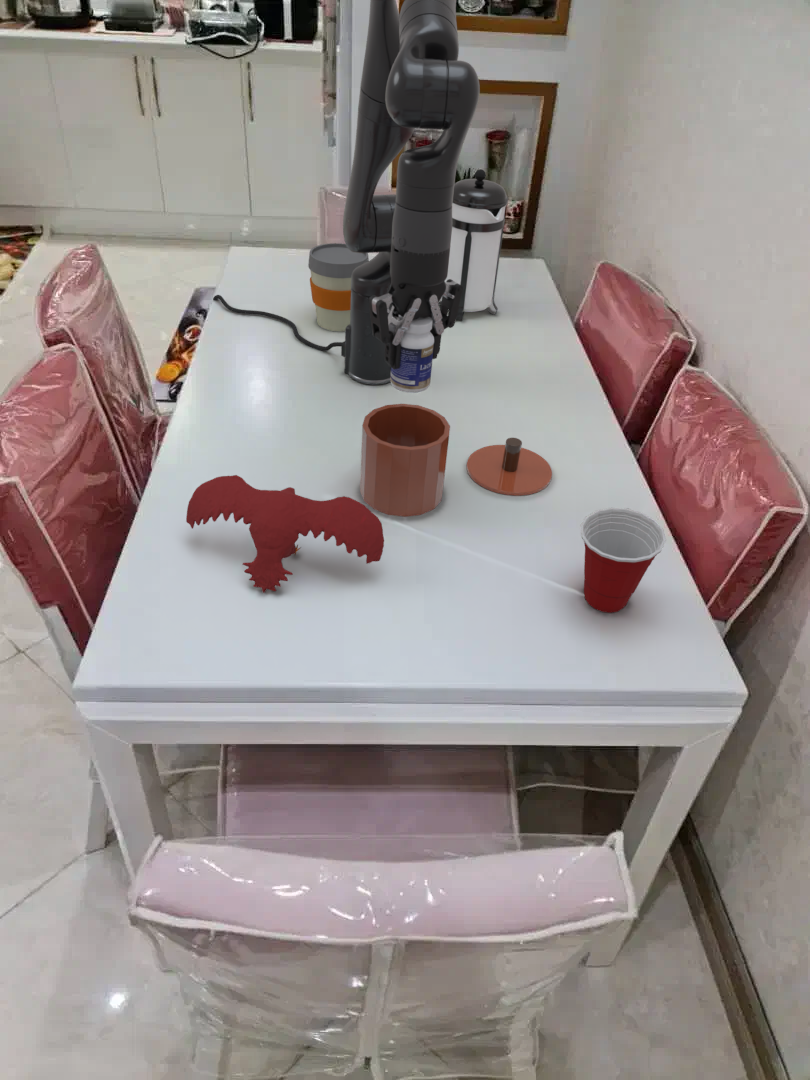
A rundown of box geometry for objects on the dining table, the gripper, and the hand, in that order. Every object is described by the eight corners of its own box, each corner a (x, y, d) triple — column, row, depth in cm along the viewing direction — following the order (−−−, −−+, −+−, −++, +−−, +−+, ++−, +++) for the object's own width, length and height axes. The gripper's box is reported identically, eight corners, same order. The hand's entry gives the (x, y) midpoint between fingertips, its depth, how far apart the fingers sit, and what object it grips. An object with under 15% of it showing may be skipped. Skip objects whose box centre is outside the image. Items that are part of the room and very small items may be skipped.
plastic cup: (555, 572, 115) (572, 505, 107) (629, 572, 116) (650, 505, 108) (574, 627, 106) (593, 558, 99) (653, 626, 108) (678, 557, 100)
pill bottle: (426, 396, 113) (432, 329, 106) (386, 390, 113) (389, 323, 107) (433, 378, 117) (439, 312, 111) (394, 372, 118) (398, 306, 111)
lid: (452, 480, 131) (456, 447, 127) (487, 442, 141) (491, 410, 137) (532, 508, 126) (539, 476, 122) (562, 467, 136) (569, 435, 132)
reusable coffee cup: (378, 321, 177) (381, 252, 167) (344, 340, 168) (346, 269, 159) (331, 305, 182) (332, 238, 172) (296, 323, 173) (295, 254, 164)
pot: (345, 501, 125) (346, 431, 117) (386, 462, 134) (390, 395, 126) (418, 529, 120) (425, 459, 113) (455, 487, 129) (464, 420, 122)
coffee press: (505, 301, 190) (525, 165, 171) (488, 327, 178) (507, 184, 159) (434, 288, 194) (447, 153, 175) (413, 312, 182) (424, 170, 163)
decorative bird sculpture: (373, 614, 112) (395, 508, 113) (362, 614, 103) (386, 499, 104) (182, 574, 116) (205, 472, 117) (155, 571, 107) (180, 460, 108)
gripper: (448, 223, 108) (437, 341, 119) (357, 238, 101) (353, 361, 112) (483, 241, 103) (468, 362, 114) (390, 258, 97) (383, 385, 107)
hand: (411, 361), depth 113 cm, fingers closed on pill bottle, 5 cm apart
